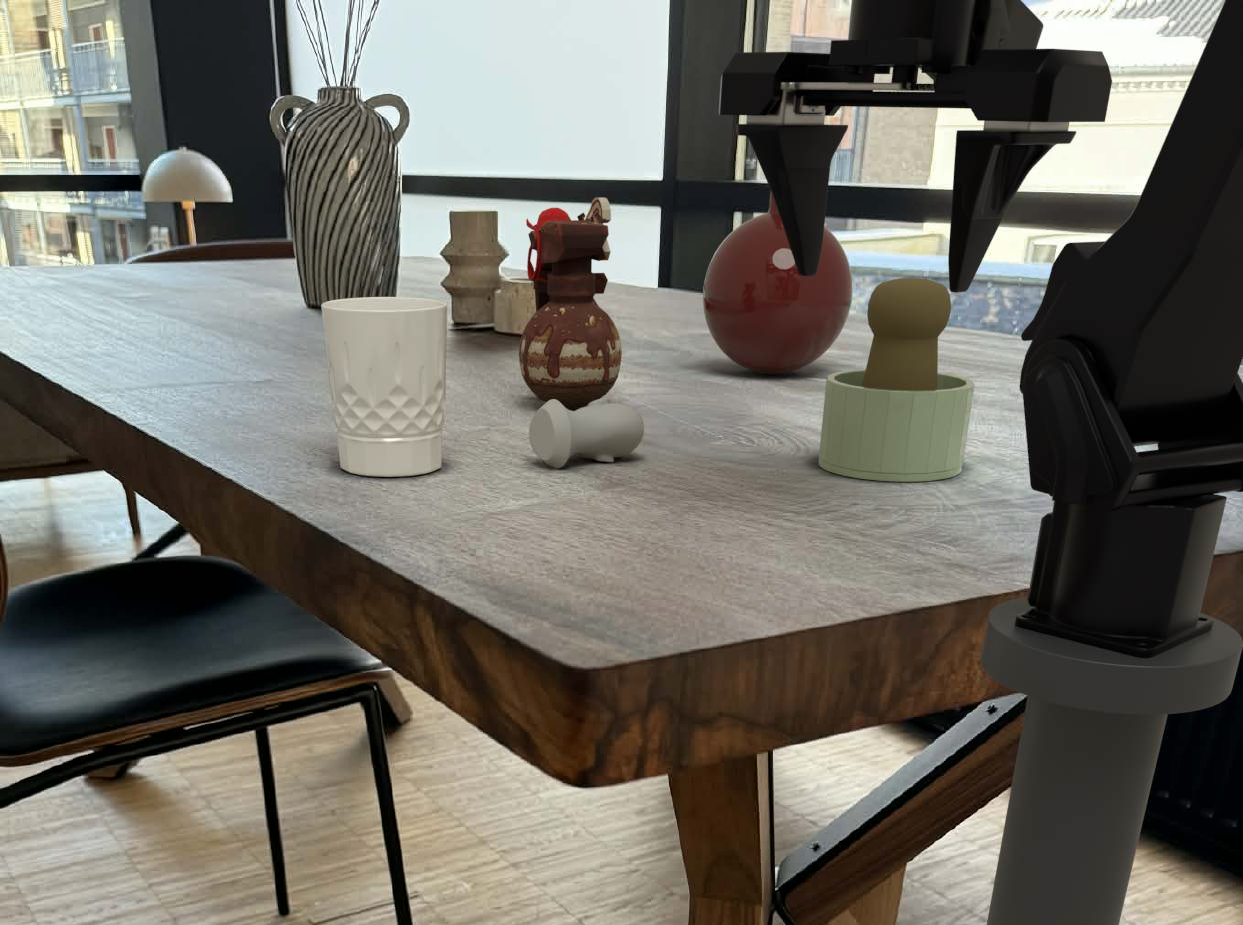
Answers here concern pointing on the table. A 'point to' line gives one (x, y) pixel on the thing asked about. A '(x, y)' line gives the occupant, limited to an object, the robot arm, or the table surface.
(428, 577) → the table surface
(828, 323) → the round-bottom flask
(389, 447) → the white cup
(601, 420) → the pale two-lobed sculpture
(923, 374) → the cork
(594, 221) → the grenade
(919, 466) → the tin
